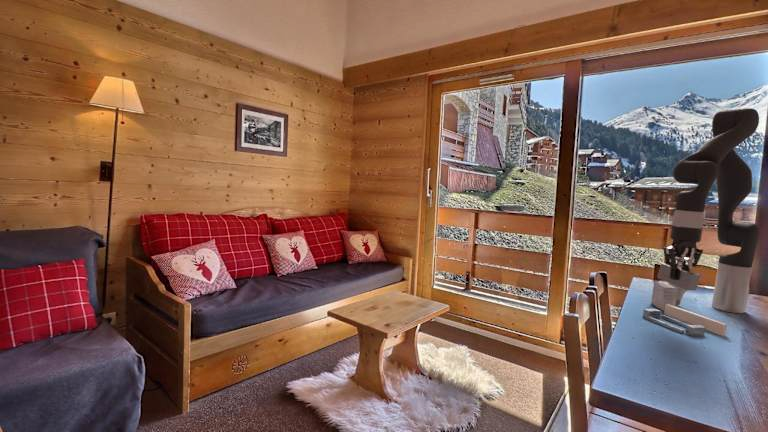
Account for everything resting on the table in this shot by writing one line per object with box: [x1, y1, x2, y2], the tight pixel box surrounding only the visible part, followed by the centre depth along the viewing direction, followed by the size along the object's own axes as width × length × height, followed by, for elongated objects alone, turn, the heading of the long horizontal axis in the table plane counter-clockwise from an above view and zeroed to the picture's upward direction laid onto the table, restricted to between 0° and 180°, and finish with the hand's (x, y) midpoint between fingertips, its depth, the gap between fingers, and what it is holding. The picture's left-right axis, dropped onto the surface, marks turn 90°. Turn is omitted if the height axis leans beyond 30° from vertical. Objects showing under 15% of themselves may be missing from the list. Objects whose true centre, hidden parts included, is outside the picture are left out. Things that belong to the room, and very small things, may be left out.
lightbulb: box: [668, 282, 688, 306], centre depth 144 cm, size 6×6×11 cm
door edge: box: [663, 304, 728, 337], centre depth 124 cm, size 2×18×4 cm, turn 15°
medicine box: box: [651, 281, 678, 312], centre depth 140 cm, size 8×4×9 cm, turn 168°
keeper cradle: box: [642, 308, 706, 337], centre depth 122 cm, size 8×16×2 cm, turn 16°
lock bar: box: [656, 262, 701, 291], centre depth 121 cm, size 4×10×5 cm, turn 16°
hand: (678, 279), depth 120 cm, fingers closed on lock bar, 3 cm apart
